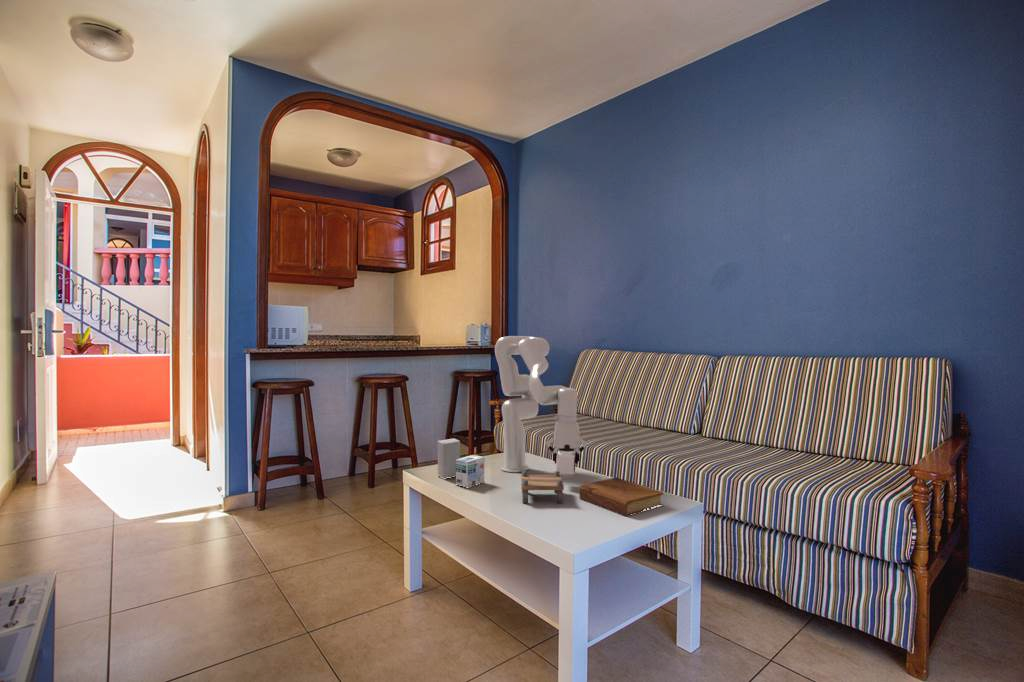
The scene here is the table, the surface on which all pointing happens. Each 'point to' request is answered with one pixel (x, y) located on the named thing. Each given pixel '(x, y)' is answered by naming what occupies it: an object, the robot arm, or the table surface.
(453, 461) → the skincare box
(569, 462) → the medicine bottle
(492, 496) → the table surface
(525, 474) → the shelf stand
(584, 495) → the diary
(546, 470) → the table surface
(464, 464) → the light bulb box
